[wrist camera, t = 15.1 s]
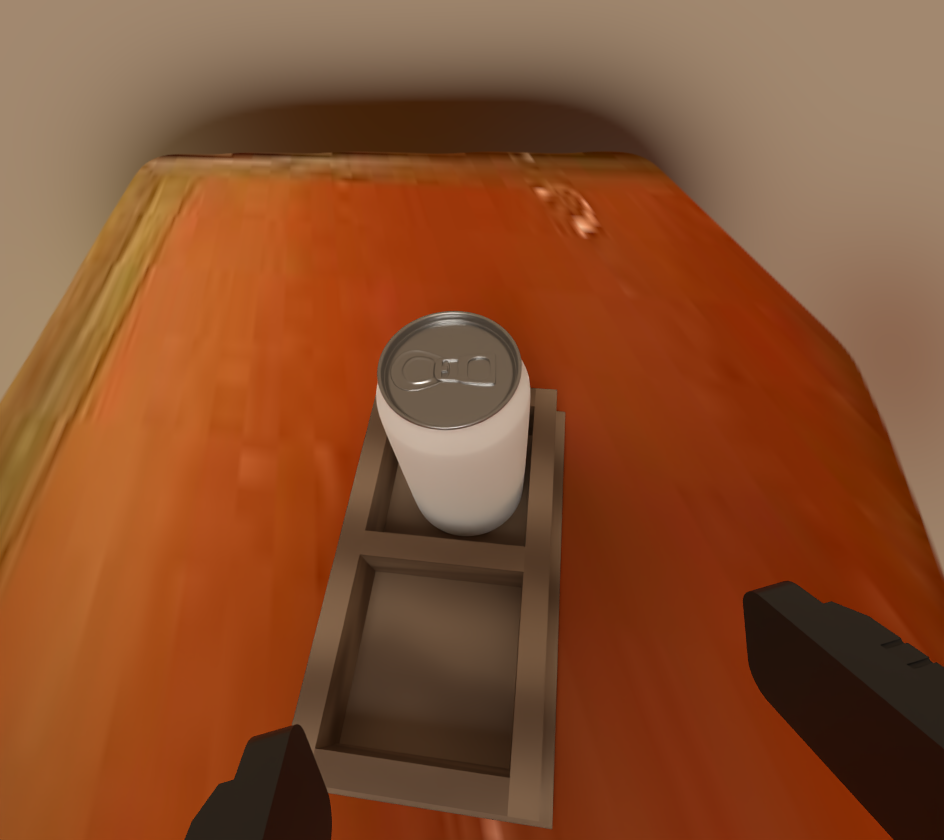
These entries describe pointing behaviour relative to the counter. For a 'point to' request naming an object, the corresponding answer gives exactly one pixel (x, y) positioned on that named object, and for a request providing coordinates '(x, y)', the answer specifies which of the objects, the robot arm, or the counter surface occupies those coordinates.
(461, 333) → the can
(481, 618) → the tray
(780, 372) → the counter surface
